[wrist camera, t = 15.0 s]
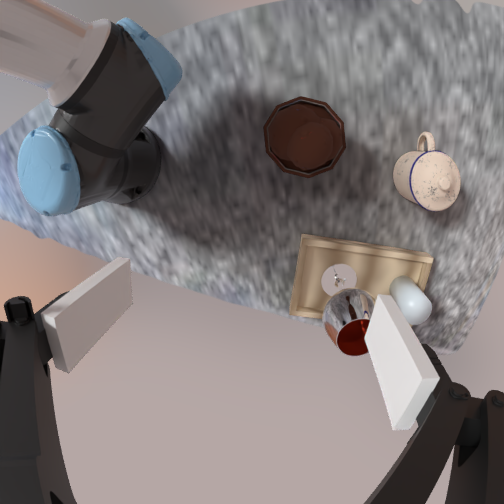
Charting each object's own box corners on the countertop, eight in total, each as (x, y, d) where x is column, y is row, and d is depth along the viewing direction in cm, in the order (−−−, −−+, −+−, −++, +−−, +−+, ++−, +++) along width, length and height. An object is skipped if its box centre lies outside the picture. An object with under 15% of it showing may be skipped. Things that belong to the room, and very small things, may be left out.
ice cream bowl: (347, 129, 45) (370, 120, 31) (312, 185, 49) (321, 199, 34) (290, 95, 44) (291, 71, 30) (256, 152, 48) (242, 151, 34)
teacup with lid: (435, 202, 47) (468, 216, 36) (390, 201, 48) (416, 215, 37) (435, 135, 43) (470, 133, 32) (389, 131, 44) (416, 126, 33)
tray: (289, 306, 56) (289, 314, 53) (301, 233, 51) (302, 238, 48) (406, 319, 54) (411, 327, 51) (427, 252, 49) (433, 258, 47)
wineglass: (358, 301, 53) (383, 362, 36) (314, 301, 54) (323, 364, 37) (363, 258, 50) (395, 308, 33) (316, 258, 51) (329, 309, 34)
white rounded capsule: (386, 298, 52) (400, 323, 43) (393, 273, 50) (410, 295, 42) (409, 301, 51) (426, 325, 43) (416, 277, 50) (435, 298, 41)
